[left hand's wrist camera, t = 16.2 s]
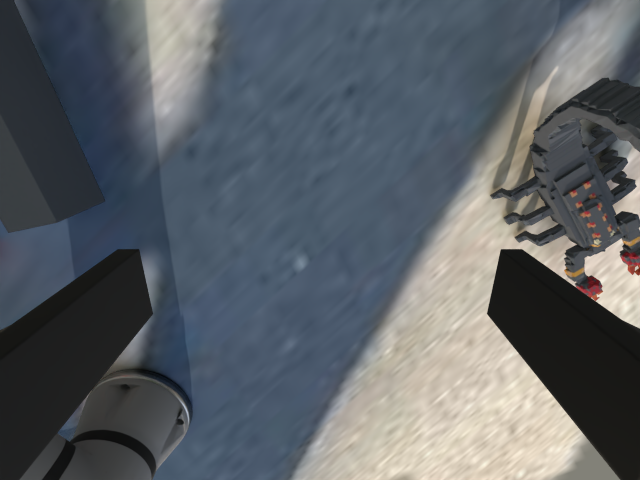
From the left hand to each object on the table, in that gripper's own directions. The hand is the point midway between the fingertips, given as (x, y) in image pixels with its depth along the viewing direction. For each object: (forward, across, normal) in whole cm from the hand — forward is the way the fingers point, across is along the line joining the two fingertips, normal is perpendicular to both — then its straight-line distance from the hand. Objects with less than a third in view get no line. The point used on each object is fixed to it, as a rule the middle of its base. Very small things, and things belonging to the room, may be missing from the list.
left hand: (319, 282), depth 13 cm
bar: (+28, +30, -5) cm, 42 cm away
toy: (+28, -28, +4) cm, 40 cm away
